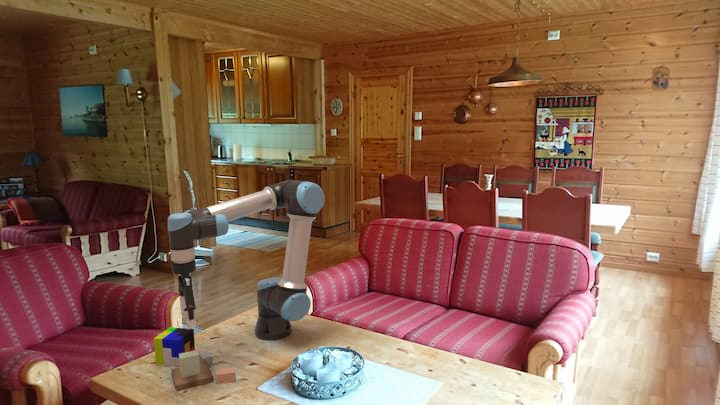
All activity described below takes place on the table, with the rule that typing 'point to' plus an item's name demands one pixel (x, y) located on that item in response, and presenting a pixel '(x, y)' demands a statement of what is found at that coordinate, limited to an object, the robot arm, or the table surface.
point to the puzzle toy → (173, 345)
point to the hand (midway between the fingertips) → (188, 321)
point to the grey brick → (206, 357)
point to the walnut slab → (192, 377)
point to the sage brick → (189, 363)
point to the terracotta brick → (225, 375)
